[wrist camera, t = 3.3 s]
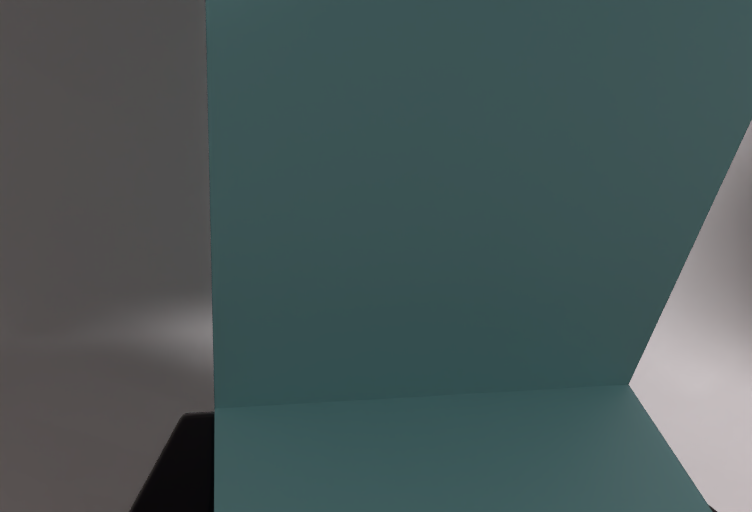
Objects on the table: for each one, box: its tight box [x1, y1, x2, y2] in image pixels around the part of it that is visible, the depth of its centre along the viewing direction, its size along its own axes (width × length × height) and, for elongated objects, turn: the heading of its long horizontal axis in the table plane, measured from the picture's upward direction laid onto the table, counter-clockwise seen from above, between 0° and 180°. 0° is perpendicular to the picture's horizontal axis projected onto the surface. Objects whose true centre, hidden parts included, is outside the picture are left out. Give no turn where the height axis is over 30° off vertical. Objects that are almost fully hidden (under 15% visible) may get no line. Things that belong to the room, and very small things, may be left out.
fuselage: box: [205, 0, 752, 512], centre depth 7 cm, size 12×4×4 cm, turn 173°
